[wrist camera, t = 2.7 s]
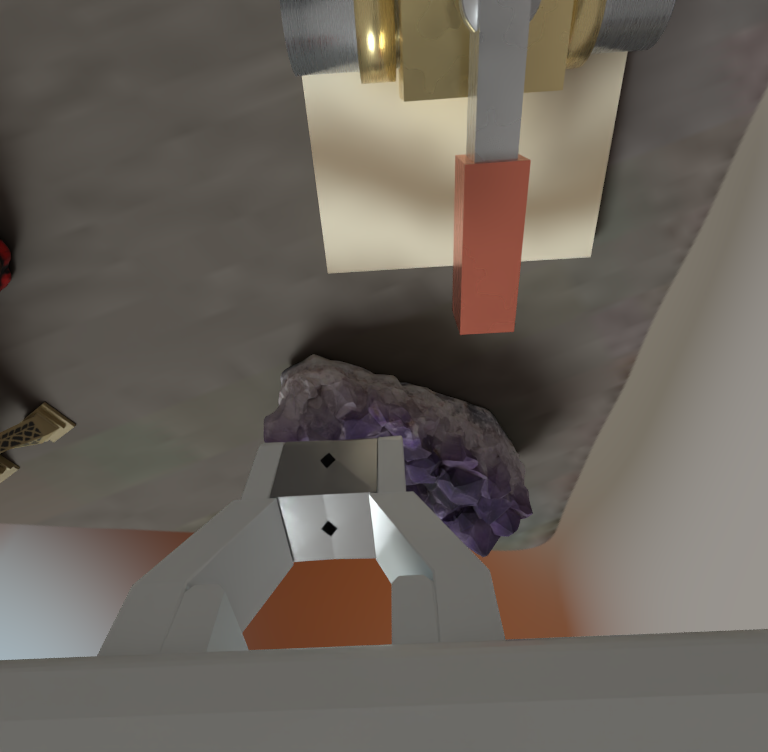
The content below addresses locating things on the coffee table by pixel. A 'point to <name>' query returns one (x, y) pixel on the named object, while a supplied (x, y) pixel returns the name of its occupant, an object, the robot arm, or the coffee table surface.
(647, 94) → the coffee table surface
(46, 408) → the eiffel tower
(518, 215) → the valve lever
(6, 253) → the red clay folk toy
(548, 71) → the valve body
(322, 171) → the base board
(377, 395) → the geode
